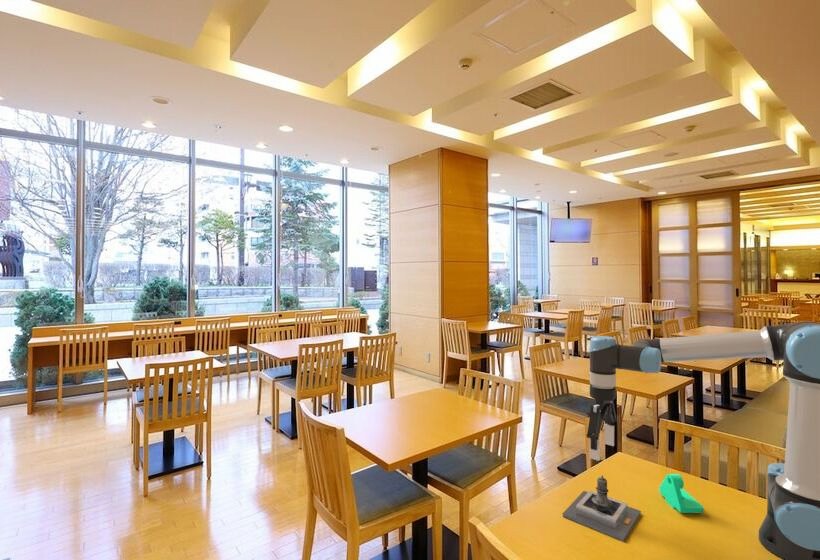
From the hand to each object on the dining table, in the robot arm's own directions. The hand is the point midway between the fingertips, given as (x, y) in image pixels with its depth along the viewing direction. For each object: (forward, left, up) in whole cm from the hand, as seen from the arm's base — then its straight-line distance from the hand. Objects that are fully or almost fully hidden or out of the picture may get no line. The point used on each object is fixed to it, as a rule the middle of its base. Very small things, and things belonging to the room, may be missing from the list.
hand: (602, 451), depth 132 cm
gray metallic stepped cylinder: (0, 0, -20) cm, 20 cm away
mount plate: (0, 0, -21) cm, 21 cm away
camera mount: (-17, -24, -21) cm, 36 cm away
